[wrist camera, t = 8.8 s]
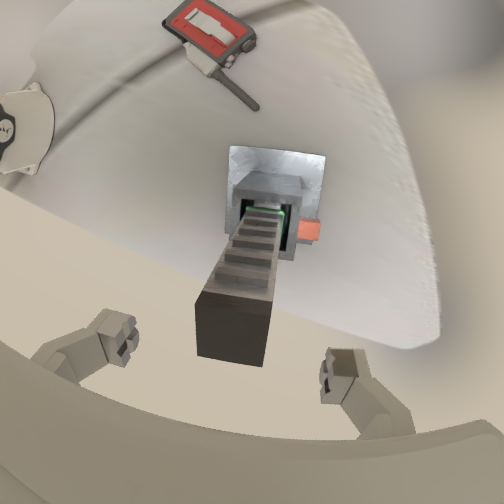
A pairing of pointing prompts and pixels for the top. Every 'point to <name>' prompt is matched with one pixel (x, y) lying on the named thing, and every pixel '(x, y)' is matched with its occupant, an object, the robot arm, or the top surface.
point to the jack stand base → (276, 191)
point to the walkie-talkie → (212, 40)
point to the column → (242, 289)
